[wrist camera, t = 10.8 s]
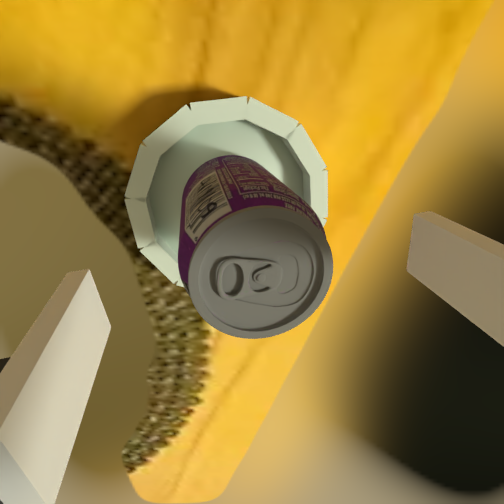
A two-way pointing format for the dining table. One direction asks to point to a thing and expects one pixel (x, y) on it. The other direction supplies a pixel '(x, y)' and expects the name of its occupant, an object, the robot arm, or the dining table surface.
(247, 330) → the beverage can
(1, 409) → the robot arm
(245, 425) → the dining table surface
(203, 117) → the tray
